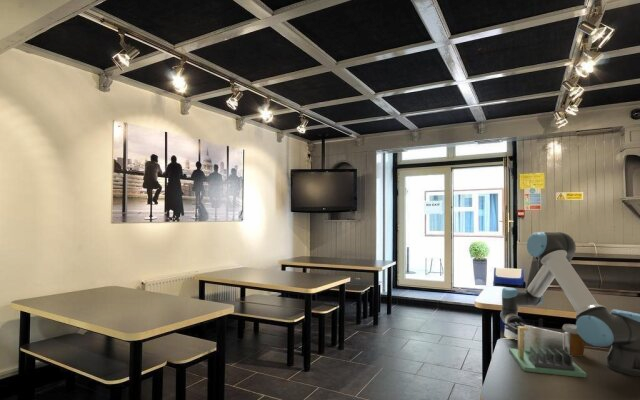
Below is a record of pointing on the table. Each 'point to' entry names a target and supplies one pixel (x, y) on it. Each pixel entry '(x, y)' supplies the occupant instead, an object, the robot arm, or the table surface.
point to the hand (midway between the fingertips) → (529, 337)
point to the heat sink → (547, 354)
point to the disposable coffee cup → (574, 340)
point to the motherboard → (528, 366)
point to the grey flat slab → (543, 339)
